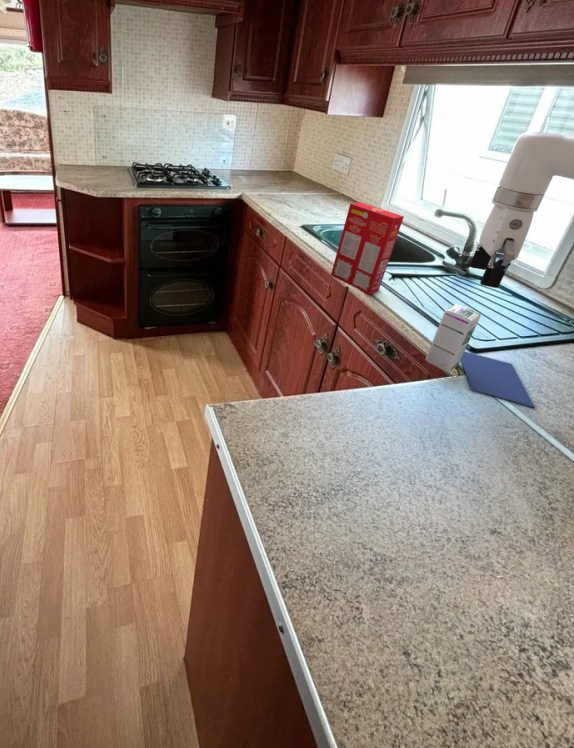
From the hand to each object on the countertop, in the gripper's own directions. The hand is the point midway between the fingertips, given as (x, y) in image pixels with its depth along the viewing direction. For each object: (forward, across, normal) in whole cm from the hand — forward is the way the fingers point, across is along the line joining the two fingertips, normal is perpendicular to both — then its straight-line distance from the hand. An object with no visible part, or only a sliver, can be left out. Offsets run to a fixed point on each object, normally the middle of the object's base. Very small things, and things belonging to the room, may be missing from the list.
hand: (482, 276), depth 87 cm
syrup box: (+24, 0, +1) cm, 24 cm away
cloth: (+24, 0, -10) cm, 26 cm away
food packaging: (+23, +35, +22) cm, 47 cm away
